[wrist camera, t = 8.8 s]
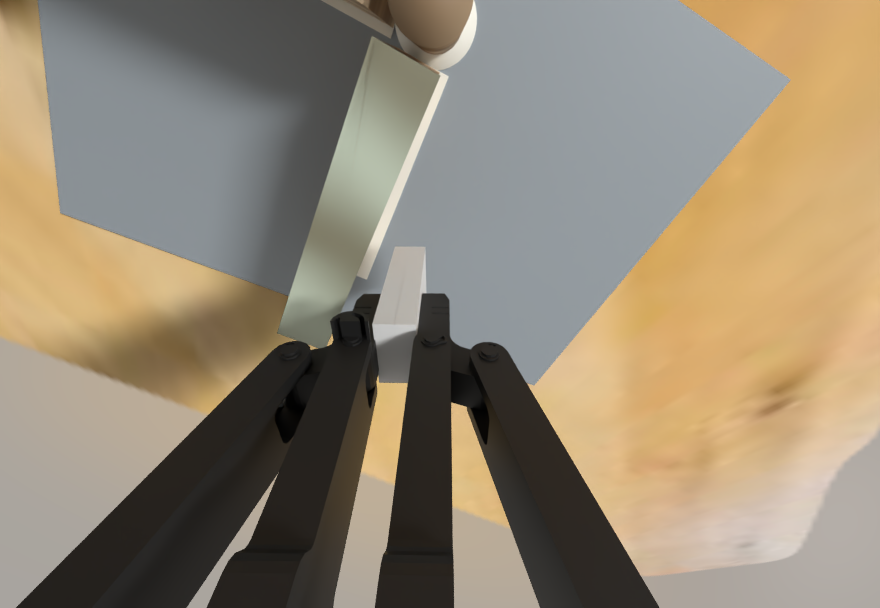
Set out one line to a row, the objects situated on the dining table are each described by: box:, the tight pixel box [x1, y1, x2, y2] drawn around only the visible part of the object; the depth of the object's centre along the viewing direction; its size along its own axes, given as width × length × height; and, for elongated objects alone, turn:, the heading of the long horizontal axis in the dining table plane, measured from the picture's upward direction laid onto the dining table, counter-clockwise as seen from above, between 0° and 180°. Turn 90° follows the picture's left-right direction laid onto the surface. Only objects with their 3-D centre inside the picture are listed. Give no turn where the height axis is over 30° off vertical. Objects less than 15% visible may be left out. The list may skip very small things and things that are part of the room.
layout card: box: [38, 0, 790, 385], centre depth 19 cm, size 32×22×1 cm
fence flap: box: [277, 36, 441, 348], centre depth 17 cm, size 12×2×7 cm, turn 154°
